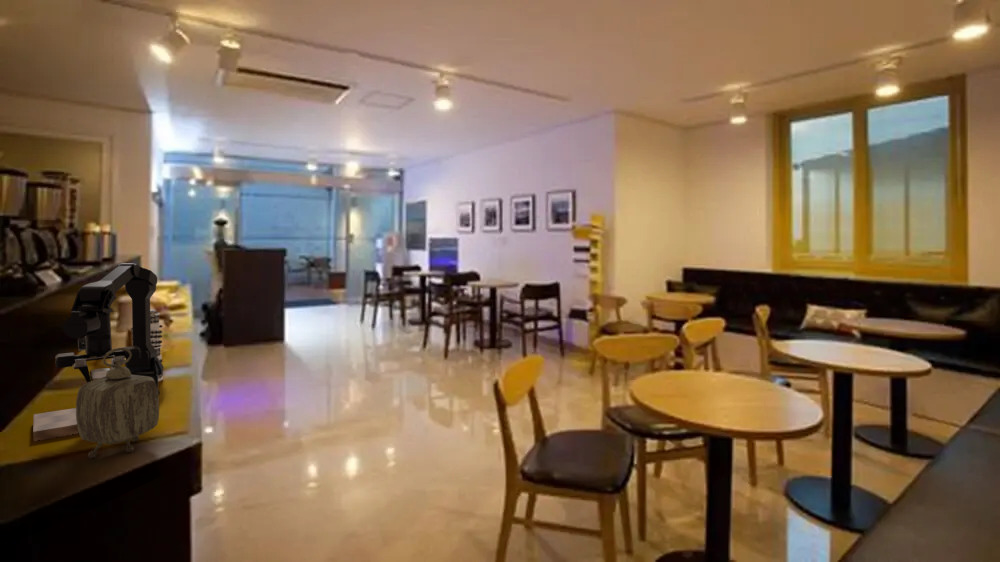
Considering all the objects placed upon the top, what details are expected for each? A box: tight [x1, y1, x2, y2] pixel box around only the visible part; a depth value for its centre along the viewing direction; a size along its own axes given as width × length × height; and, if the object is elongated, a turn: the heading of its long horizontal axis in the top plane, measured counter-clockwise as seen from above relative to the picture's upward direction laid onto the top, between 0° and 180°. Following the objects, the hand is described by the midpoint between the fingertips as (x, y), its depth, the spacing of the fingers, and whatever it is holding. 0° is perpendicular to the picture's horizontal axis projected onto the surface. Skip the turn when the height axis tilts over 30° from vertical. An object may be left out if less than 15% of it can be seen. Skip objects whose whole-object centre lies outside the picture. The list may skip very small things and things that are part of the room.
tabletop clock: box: [75, 347, 160, 459], centre depth 130 cm, size 14×9×25 cm, turn 163°
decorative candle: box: [130, 308, 164, 382], centre depth 191 cm, size 9×9×25 cm
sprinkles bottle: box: [89, 367, 111, 381], centre depth 151 cm, size 5×5×13 cm
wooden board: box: [32, 407, 79, 442], centre depth 148 cm, size 20×17×2 cm
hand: (101, 387), depth 151 cm, fingers closed on sprinkles bottle, 4 cm apart
